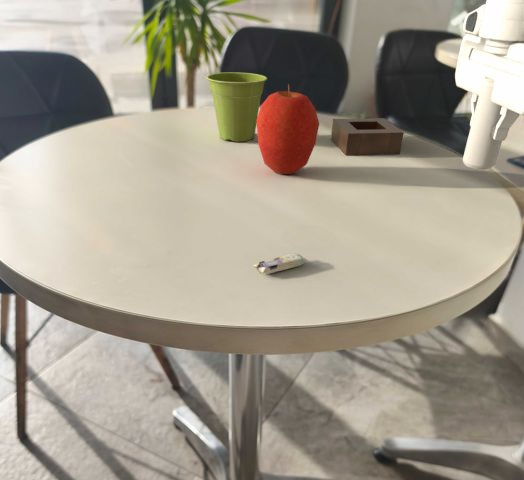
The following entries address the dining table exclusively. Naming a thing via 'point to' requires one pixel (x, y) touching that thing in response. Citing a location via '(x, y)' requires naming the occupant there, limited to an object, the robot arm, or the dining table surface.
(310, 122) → the apple
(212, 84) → the plant pot
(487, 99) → the beverage can
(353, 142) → the holder
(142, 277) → the dining table surface
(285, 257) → the granola bar
